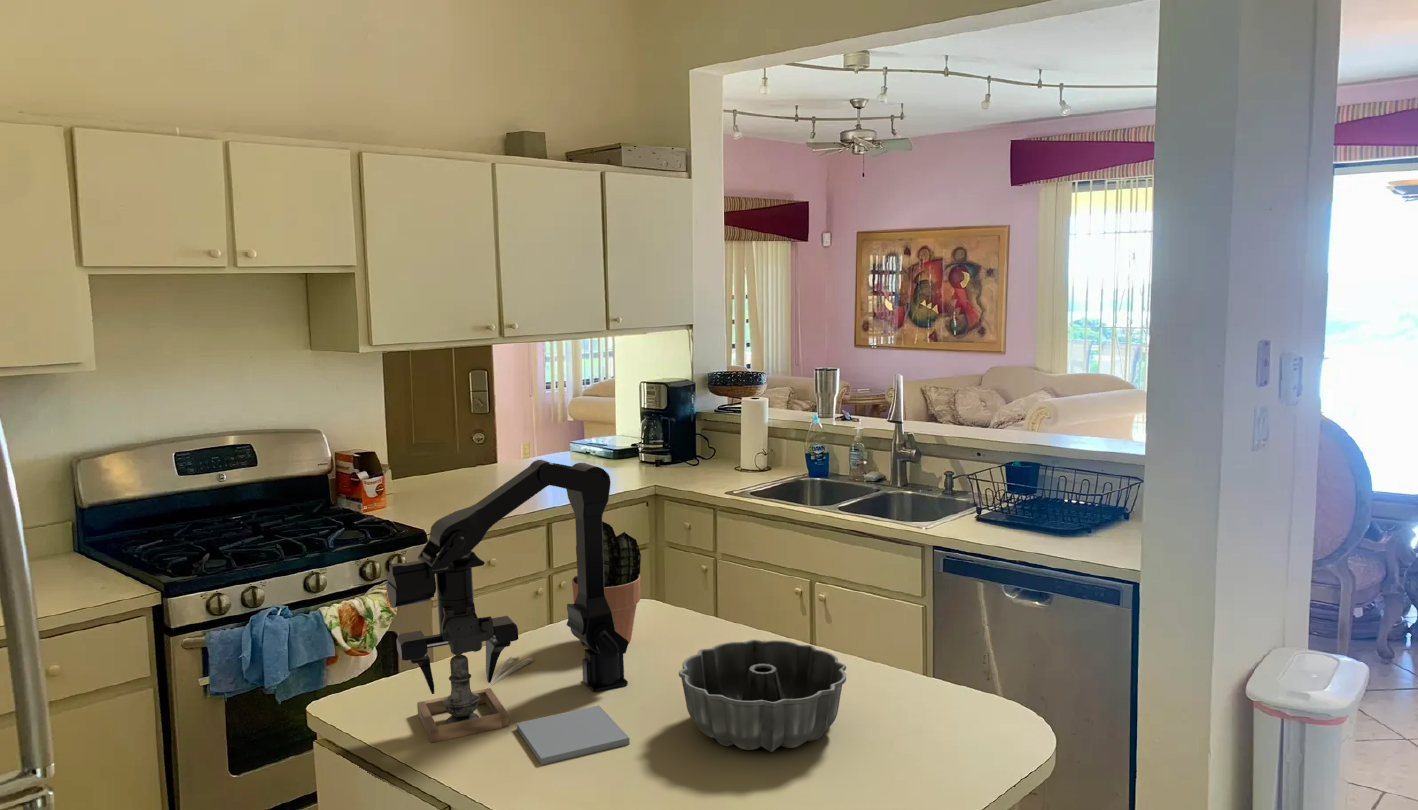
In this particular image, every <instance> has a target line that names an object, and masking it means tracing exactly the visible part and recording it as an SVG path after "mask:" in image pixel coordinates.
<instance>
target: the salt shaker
mask: <svg viewBox="0 0 1418 810" xmlns="http://www.w3.org/2000/svg"><path fill="white" fill-rule="evenodd" d="M449 664H450V665H449V666H450V676H449V677H448V680H449V681H450V687H451V689H450V691H451V692H450V695H448V697H447V696H445V697H446V698H445V699H444V700H443V704H444V705H445V708H446V710H447V711H446V712H447V713H448V714H449V715H450V716H449V717H447V719H446V723H445V724H449V723H454V722H459V721H464V720H468V719H473V718H478V717H480V715H479V714H478V713H474V712H475V711H476V709H477V708H478V705H479V704H478V700H479V699H480V696H479V695H478V694H476V693H473V692H472V689H471V682H470V681H471V678H472V674H471V673H469V671H470V670H469V658H468V657H467V656H466V654H463V653H462V654H461V655H453V656H452V657H451V658H450V661H449Z"/></svg>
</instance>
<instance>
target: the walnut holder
mask: <svg viewBox="0 0 1418 810" xmlns="http://www.w3.org/2000/svg"><path fill="white" fill-rule="evenodd" d="M471 692H473V693H476V694H478V695H479V696H480V699H479V700H478V705H483V704H486V705H487V707H488V708H489V710H490V711H491V713H492V714H488V715H484V716H483V715H482V716H479V717H478V718H473V719H468V720H464V721H459V722H454V723H449V724H447V723H445V724H441V725H437V723H436V722H435V719H434V717H433V714H434V715H435V714H438V713H442V712H448V711H447V710H446V708H445V705H444V704H443V700H444V699H445V698H446V697H448V696H449V695H448V696H442V697H438V698H433V699H428V700H423V701H418V702H417V703H416V707H417V715H418V717H419V720H420V722H421V724H422V725H423V728H424V730H425V732H426V734H427V737H428V739H429V740H430V741H429V742H430V743H431V744H433V743H437V742H441V741H446V740H447V741H448V740H451V739H455V738H460V737H464V736H469V735H470V736H471V735H473V734H478V733H483V732H488V731H493V730H497V729H501V728H506V727H509V726H510V717H509V716H510V715H509V712H508V711H507V710H506V708H505V707H504V705H503V704H502V702H501V701H500V700H499V698H498V697H497V695H496V694H495V693H494V691H493V690H492V688H491V687H489V688H488V687H486V688H485V689H484V688H483V689H478V690H473V691H472V690H471Z"/></svg>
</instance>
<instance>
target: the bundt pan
mask: <svg viewBox="0 0 1418 810" xmlns="http://www.w3.org/2000/svg"><path fill="white" fill-rule="evenodd" d="M846 670H847V665H846V664H845V663H842V662H839V659H838V657H837V656H836V655H835V654H833V653H831V652H829V651H826V650H823V649H817V648H816V647H815V646H813V645H811V644H799V643H796V642H793V641H788V640H779V639H778V640H775V639H774V640H773V639H772V640H770V639H769V640H761V639H749V640H746V641H730V642H729V641H728V642H723V643H719V644H717V645H714V646H712V647H710V648H709V647H708V648H701V649H699V650H698V651H697V653H696V654H693V655H691V656H689V657H687V658H685V659H684V660H683V661H682V669H681V670H679V671H678V676H679V677H680V678H681V683H682V688H683V693H684V699H685V703H686V704H685V706H686V709H687V712H688V714H689V716H690V718H691V719H692V720H693V722H694V723H695V725H696V726H697V728H698V730H699V731H701V732H702V733H703V734H704V735H706V736H708V737H709V738H712V739H715V740H716V741H717V743H719V744H720V745H722V746H726V747H729V746H732V745H735V746H736V747H738V748H739V749H741V750H746V751H751V750H756V749H759V748H761V747H762V748H764V749H765V750H766V751H768V752H769V753H770V752H771V753H772V752H774V751H775V750H777V749H778V748H780V747H782V748H786V749H792V748H797V747H800V746H801V745H803V744H804V743H811V742H815V741H817V740H819V739H820V738H821V737H823V735H824V733H825V732H826V730H828V729H829V728H831V726H832V725H833V724H834V722H835V720H836V718H837V715H838V712H839V707H840V702H841V701H840V699H841V693H842V688H843V685H844V684H845V683H846V681H847V673H846V672H845V671H846Z"/></svg>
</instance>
